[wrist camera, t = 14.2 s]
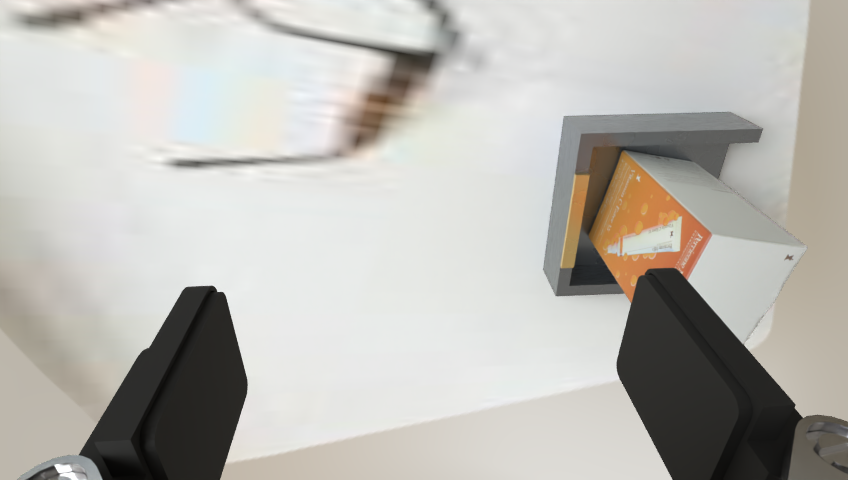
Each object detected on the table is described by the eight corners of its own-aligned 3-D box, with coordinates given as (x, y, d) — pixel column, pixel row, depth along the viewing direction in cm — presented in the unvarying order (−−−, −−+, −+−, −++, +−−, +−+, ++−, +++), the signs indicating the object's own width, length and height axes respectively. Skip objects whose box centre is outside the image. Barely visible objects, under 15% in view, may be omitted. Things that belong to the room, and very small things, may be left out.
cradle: (564, 116, 39) (582, 135, 35) (730, 112, 39) (765, 130, 35) (543, 269, 46) (556, 298, 42) (684, 263, 46) (709, 291, 43)
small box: (620, 147, 39) (713, 231, 28) (695, 160, 40) (814, 246, 29) (584, 237, 43) (653, 342, 32) (653, 247, 44) (743, 352, 33)
